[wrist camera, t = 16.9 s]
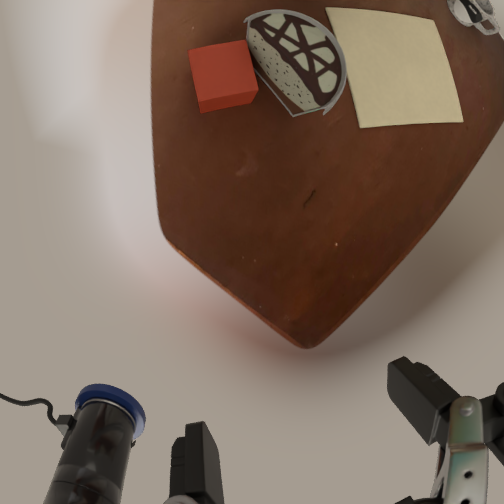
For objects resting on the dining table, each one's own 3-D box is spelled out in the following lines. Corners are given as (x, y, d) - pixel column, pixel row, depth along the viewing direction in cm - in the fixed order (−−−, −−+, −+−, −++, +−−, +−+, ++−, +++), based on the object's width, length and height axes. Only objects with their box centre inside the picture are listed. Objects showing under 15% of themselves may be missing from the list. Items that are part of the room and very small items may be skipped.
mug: (443, 5, 31) (466, -7, 24) (451, -9, 30) (472, -20, 23) (479, 45, 33) (503, 38, 27) (485, 29, 32) (507, 22, 26)
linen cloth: (359, 128, 35) (360, 127, 35) (324, 8, 30) (325, 7, 30) (461, 122, 36) (463, 121, 36) (432, 21, 32) (433, 20, 31)
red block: (200, 113, 32) (198, 101, 27) (190, 68, 31) (187, 49, 25) (251, 103, 33) (259, 90, 27) (240, 59, 31) (246, 39, 25)
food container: (336, 101, 34) (375, 81, 24) (300, 127, 34) (331, 111, 25) (275, 28, 31) (295, -12, 21) (236, 51, 31) (245, 12, 21)
